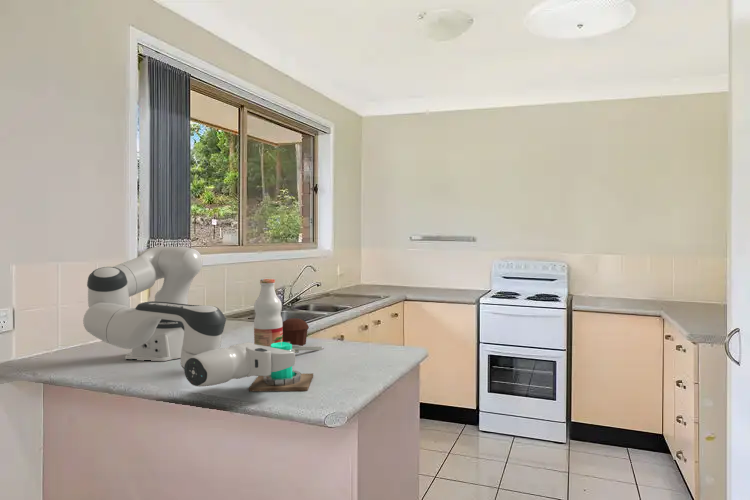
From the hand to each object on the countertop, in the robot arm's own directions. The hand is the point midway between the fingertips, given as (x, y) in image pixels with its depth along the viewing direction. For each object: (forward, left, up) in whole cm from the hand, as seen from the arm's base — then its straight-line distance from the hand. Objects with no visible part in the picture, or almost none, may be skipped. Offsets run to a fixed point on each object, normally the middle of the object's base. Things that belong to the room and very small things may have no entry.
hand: (284, 350), depth 151 cm
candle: (-1, -1, -9) cm, 9 cm away
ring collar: (-1, -1, -10) cm, 10 cm away
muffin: (-6, +53, -10) cm, 55 cm away
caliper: (+1, +36, -10) cm, 38 cm away
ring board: (-1, -1, -10) cm, 10 cm away
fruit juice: (-10, +24, -10) cm, 28 cm away
